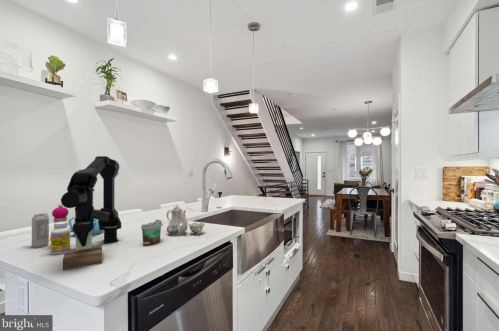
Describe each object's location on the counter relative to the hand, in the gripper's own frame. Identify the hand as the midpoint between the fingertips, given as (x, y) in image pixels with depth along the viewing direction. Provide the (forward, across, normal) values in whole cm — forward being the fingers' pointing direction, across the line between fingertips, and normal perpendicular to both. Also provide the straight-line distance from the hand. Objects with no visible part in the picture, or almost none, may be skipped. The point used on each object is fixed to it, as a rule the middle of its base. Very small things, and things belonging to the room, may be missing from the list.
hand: (84, 244), depth 94 cm
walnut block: (+6, 0, 0) cm, 7 cm away
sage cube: (+1, 0, 0) cm, 1 cm away
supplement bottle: (+7, +18, +9) cm, 21 cm away
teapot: (+7, +46, -1) cm, 46 cm away
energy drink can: (+7, +34, +18) cm, 39 cm away
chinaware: (+7, +22, -44) cm, 50 cm away
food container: (+7, +10, -28) cm, 30 cm away
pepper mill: (+7, +27, +10) cm, 30 cm away
